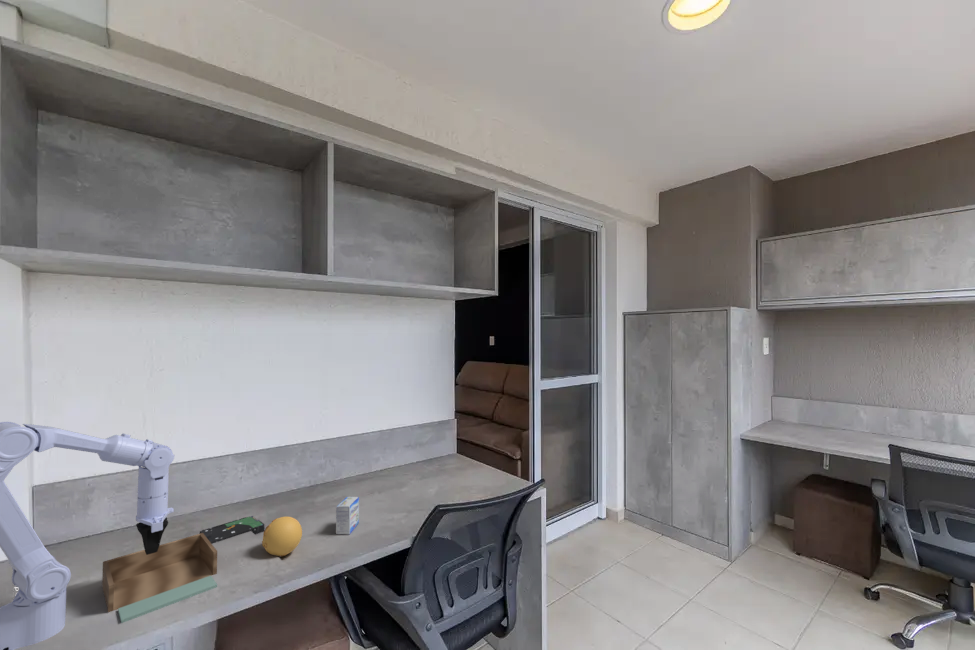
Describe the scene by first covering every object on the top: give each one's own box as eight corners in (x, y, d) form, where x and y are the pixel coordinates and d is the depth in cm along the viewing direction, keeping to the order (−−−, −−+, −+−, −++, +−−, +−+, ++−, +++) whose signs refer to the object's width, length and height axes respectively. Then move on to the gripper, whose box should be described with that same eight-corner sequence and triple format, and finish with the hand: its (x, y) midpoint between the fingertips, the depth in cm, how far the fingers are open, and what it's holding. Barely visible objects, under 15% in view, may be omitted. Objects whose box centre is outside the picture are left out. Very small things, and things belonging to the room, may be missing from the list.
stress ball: (304, 556, 116) (307, 521, 123) (294, 541, 109) (298, 505, 117) (266, 566, 114) (272, 530, 121) (253, 551, 107) (260, 514, 115)
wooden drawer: (108, 619, 88) (109, 586, 89) (101, 591, 98) (102, 561, 98) (216, 579, 103) (217, 551, 103) (202, 558, 113) (202, 532, 113)
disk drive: (210, 552, 117) (265, 532, 129) (210, 542, 117) (265, 523, 129) (198, 540, 124) (251, 522, 135) (198, 531, 124) (251, 514, 135)
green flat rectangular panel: (118, 615, 89) (121, 627, 85) (118, 608, 89) (121, 620, 85) (210, 581, 101) (217, 590, 98) (210, 575, 101) (217, 584, 98)
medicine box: (349, 535, 126) (350, 506, 127) (335, 534, 127) (335, 506, 127) (359, 523, 134) (359, 496, 134) (345, 523, 134) (345, 496, 135)
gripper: (179, 498, 97) (178, 557, 96) (168, 482, 107) (167, 536, 106) (140, 507, 92) (138, 569, 91) (132, 490, 102) (131, 546, 101)
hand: (151, 552), depth 98 cm, fingers closed
